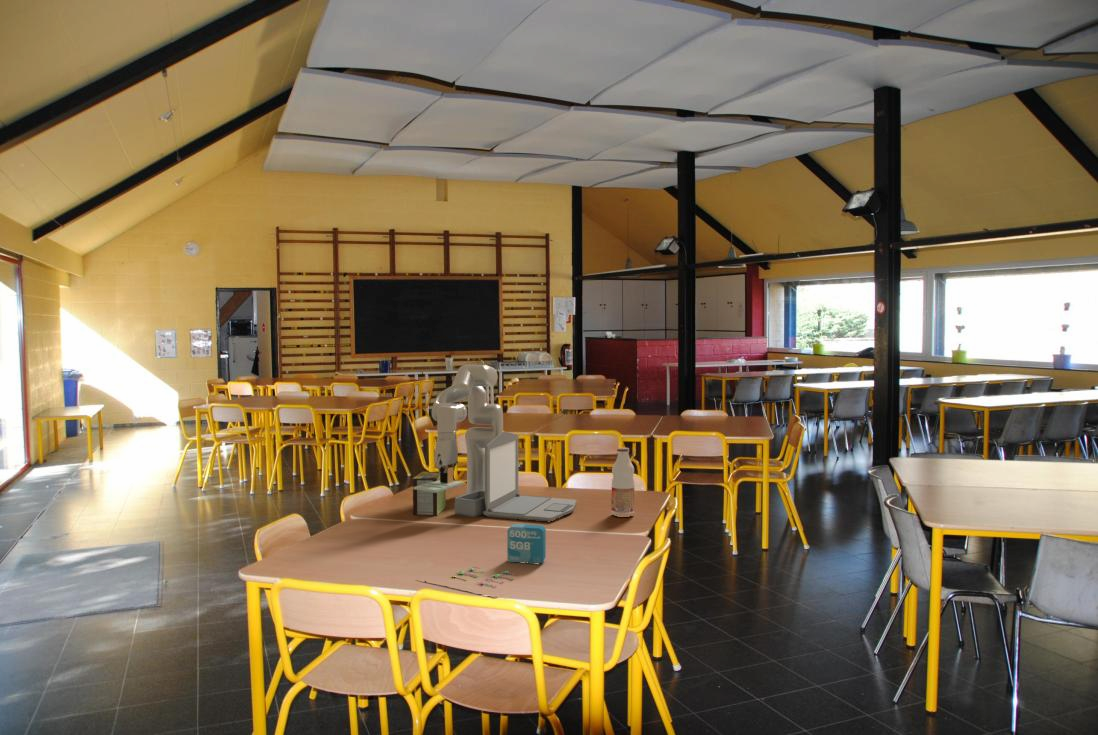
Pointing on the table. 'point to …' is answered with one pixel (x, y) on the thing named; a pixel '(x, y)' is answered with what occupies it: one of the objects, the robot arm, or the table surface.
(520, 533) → the data package
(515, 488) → the laptop
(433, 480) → the protein box
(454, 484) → the lid
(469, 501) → the tub
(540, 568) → the table surface
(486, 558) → the table surface
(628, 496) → the fruit juice
